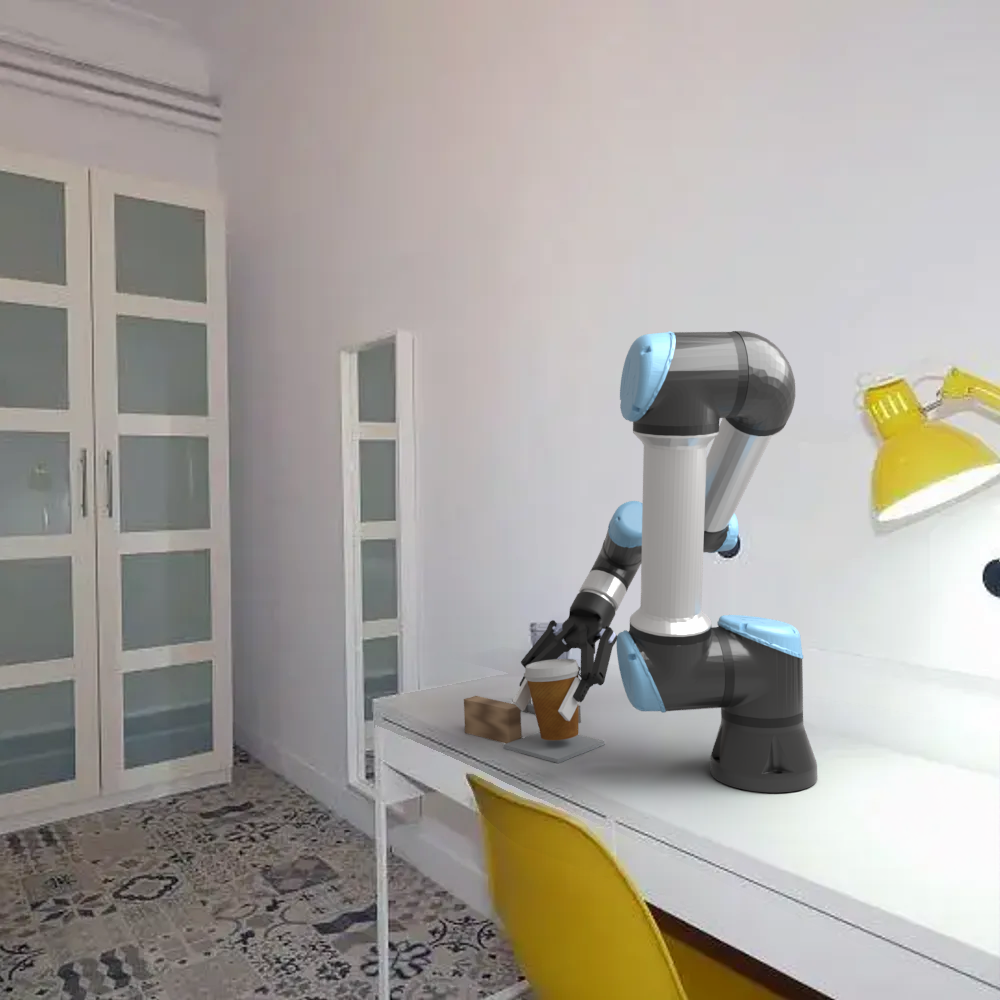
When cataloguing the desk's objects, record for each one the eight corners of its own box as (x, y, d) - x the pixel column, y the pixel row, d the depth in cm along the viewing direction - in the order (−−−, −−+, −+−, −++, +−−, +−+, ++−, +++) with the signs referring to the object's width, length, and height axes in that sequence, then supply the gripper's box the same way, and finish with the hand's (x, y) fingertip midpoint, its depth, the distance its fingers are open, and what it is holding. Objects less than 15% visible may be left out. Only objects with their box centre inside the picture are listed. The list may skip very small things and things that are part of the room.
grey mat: (604, 744, 144) (604, 740, 144) (558, 763, 136) (557, 759, 136) (550, 731, 153) (550, 727, 153) (503, 748, 144) (503, 744, 144)
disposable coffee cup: (588, 726, 148) (579, 656, 148) (588, 740, 138) (579, 665, 139) (533, 731, 149) (524, 661, 149) (529, 745, 139) (520, 671, 140)
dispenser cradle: (580, 722, 158) (579, 689, 158) (514, 746, 145) (513, 710, 145) (526, 710, 167) (525, 679, 167) (460, 731, 155) (459, 698, 154)
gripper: (658, 621, 147) (604, 735, 136) (559, 610, 162) (504, 712, 152) (639, 594, 143) (582, 709, 132) (540, 585, 158) (481, 688, 148)
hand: (540, 711), depth 142 cm, fingers open, 9 cm apart
